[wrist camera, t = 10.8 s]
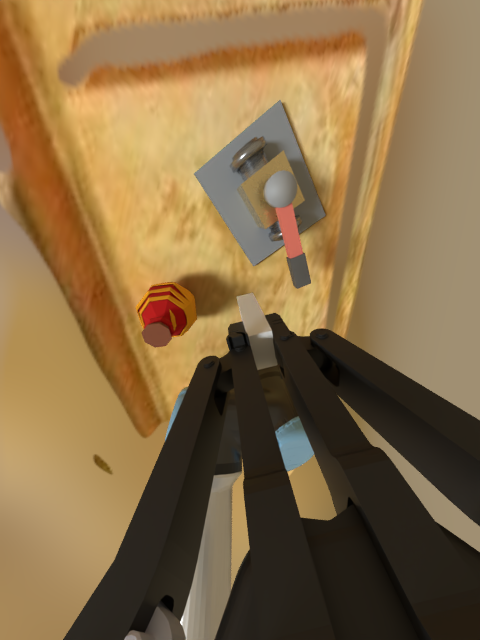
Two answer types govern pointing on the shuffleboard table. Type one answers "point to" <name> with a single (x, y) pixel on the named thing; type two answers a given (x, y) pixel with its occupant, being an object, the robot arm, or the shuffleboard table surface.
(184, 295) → the potion bottle
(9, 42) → the shuffleboard table surface
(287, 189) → the lever
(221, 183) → the slate board
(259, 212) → the valve body
